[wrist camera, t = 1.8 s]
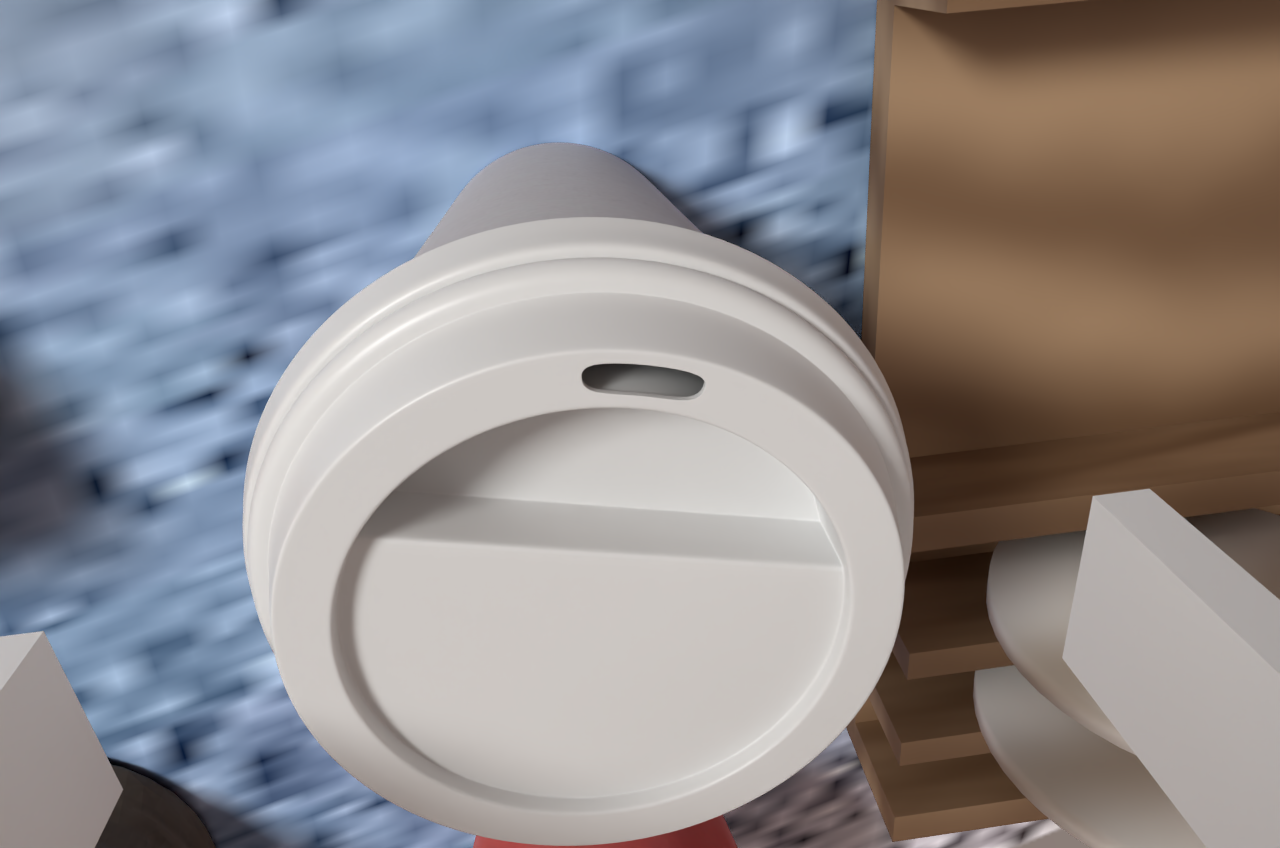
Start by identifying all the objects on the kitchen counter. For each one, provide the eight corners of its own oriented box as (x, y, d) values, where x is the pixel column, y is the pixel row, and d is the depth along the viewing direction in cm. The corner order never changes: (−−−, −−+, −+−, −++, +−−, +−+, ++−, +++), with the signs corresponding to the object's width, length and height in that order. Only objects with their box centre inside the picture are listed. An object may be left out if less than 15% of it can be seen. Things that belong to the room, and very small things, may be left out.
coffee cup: (801, 198, 24) (1125, 498, 11) (622, 468, 28) (707, 943, 14) (481, -2, 21) (403, 86, 8) (323, 329, 25) (86, 774, 11)
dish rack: (879, -53, 22) (1224, -52, 11) (1463, -105, 22) (2315, -151, 12) (843, 721, 34) (988, 1078, 23) (1220, 668, 35) (1526, 988, 24)
